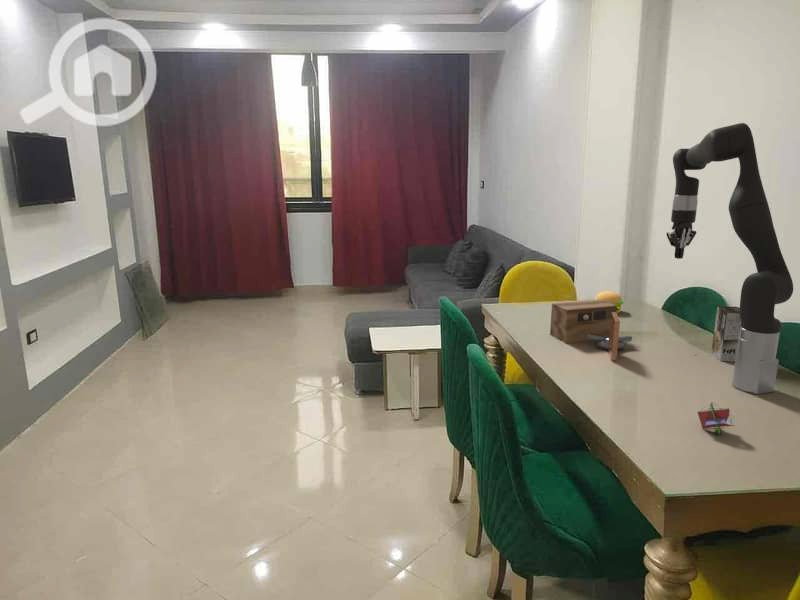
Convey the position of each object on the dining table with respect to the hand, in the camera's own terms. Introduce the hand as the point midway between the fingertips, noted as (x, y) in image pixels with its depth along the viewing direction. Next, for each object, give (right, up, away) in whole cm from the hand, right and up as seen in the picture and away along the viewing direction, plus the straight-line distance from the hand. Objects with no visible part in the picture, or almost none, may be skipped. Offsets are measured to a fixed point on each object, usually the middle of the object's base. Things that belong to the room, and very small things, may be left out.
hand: (678, 258), depth 195 cm
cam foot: (-27, -32, -9) cm, 43 cm away
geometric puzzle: (-23, -46, -63) cm, 82 cm away
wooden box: (-32, -28, +8) cm, 43 cm away
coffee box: (+8, -33, -14) cm, 37 cm away
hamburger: (-9, -20, +42) cm, 47 cm away
